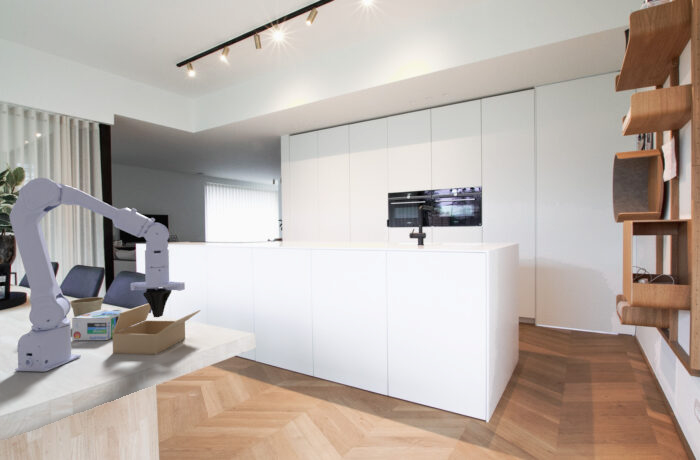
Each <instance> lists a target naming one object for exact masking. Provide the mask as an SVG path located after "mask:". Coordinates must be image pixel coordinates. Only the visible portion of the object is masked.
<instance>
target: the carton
mask: <svg viewBox="0 0 700 460" xmlns="http://www.w3.org/2000/svg"><path fill="white" fill-rule="evenodd" d="M175 321H176V320H147V319H146V320H145V321H143V322H140V323H138V324H135V325H133V326H130V327H129V328H126V329H124V330H121V331H119V332H116V333H114V334H112V336H113V337H112V354H130V355H131V354H133V355H136V354H137V355H158V354H160V353H161V352H163V351H165V350H166V349H168V348H170V347H172V346H174V345H175V344H177V343H179V342H182V341H183V340H185V339H186V321H185V322H183V323H181V324H179V325H177V326H175V327H173V328H171V329H169V330H167V331H165V332H163V333H161V334H159V335H157V334H158V333H159V332H160V331H162V330H163V329H165V328H166V327H167V326H169V325H170V324H172V323H173V322H175Z"/></svg>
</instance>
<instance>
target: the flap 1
mask: <svg viewBox="0 0 700 460" xmlns="http://www.w3.org/2000/svg"><path fill="white" fill-rule="evenodd" d="M126 310H127V311H124V312H121V313H120V316H119V318H118V320H117V323H116V325H115V328H114V330H113V333H115V332H117V331H120V330H122V329H125V328H128V327H131V326H134V325H136V324H139V323H141V322H144V321H146V320H147V318H148V317H149V316H148V315H149V313H150V311H151V307H150V305H149V303H148V302H147V303H145V304H143V305H139V306H136V307H132V308H129V309H126Z"/></svg>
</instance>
